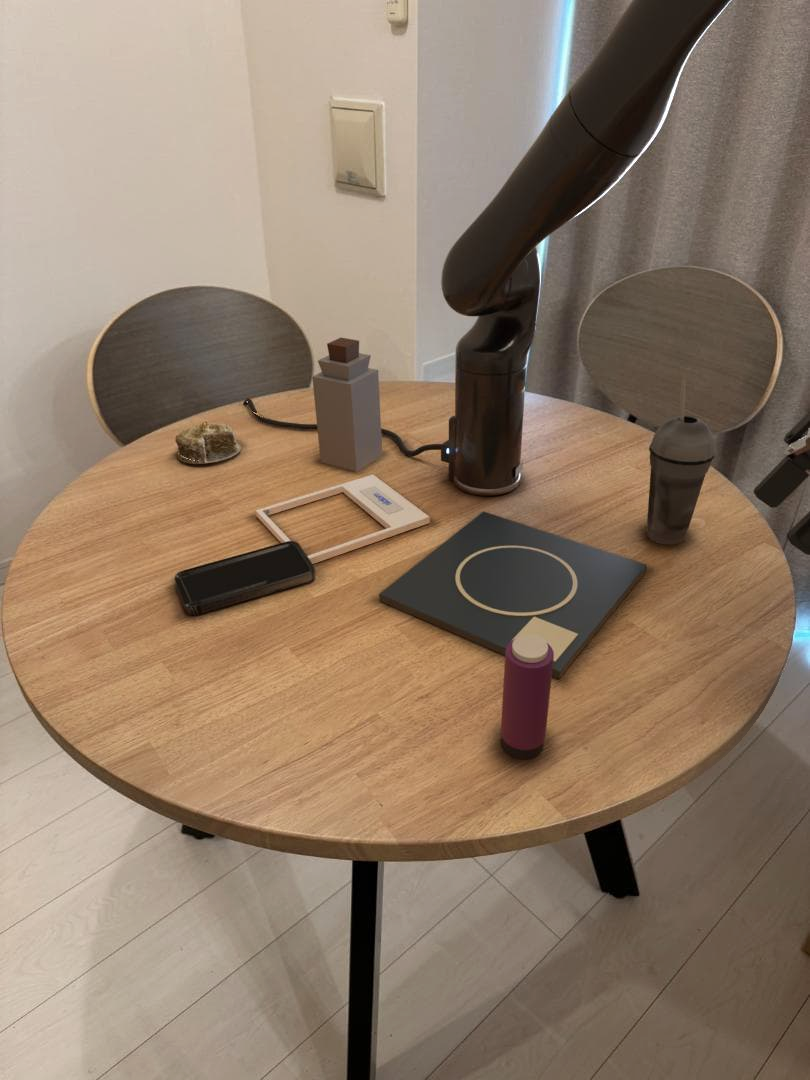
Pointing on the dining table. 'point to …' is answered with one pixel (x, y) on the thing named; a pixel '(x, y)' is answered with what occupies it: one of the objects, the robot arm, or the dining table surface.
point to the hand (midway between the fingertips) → (778, 522)
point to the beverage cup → (677, 474)
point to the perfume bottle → (347, 407)
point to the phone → (243, 577)
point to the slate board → (516, 587)
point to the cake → (207, 443)
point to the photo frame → (369, 497)
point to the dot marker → (526, 695)
